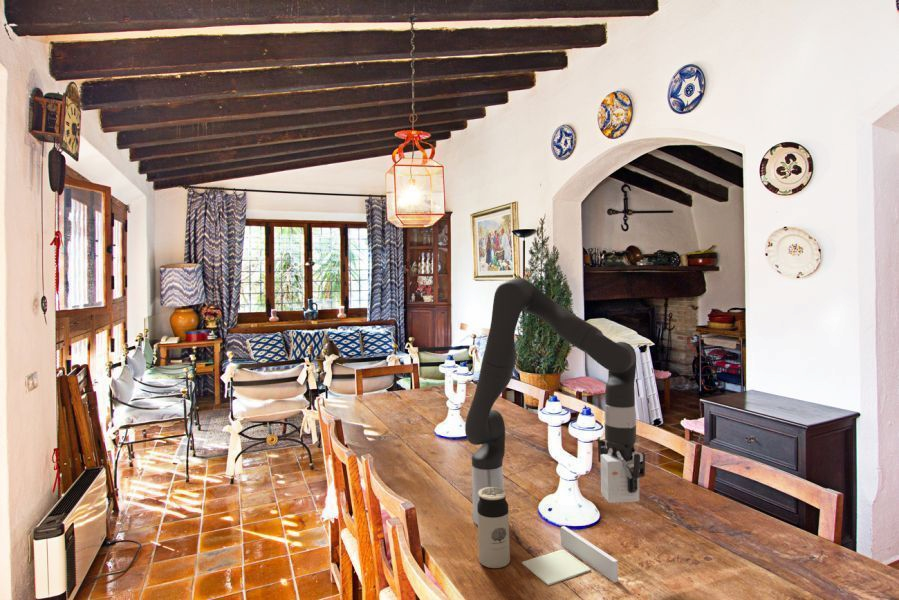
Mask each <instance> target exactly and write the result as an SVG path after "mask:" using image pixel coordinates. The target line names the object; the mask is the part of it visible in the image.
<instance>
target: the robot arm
mask: <svg viewBox="0 0 899 600" xmlns="http://www.w3.org/2000/svg"><path fill="white" fill-rule="evenodd" d="M492 303H493V304H492V310H491V311H492V312H491V321H490V327H489V331H488V336H487V340H486V344H485V348H484V351H483V352H484V353H483V355H482V360H481V364H480V370H479V375H478V379H477V383H476V389H475V391H474V394H473V399H472V401H471V404H470V407H469V410H468V413H467V416H466V419H465V424H464V431H465V436H466V439H467V441H468V442H469V443H470V444H471V445H475V446H476V445H477V446H478V445H481V446H480V447H479V449H477V450H476V451H475V452H474V453H473V454H472V456H471V474H472V477H471V478H472V486H471V495H472V496H471V499H472V500H471V501H472V503H471V504H472V518H473V523H474V524H475V525H476V526H478V511H477V504H478V502H479V500H480V498H479V495H478V491H479V490H481V489H483V488H486V487H499V488H502V489H504V469H503V468H504V467H503V464H504V463H503V461H504V457H505V452H506V451H505V450H506V425H505V420H504V418H503V415H502V414H501V413H500V412H499V411H498V410H496V409H492V408H493V406H494V404H495V403H496V401H497V400H498V399H499V397H500V396H501V394H502V393H503V392H504V391H505V389H506V388H507V387H508V385H509V383H511V382H510V381H511V380H512V378H513V373H514V369H515V364H516V360H517V352H516V351H517V349H516V343H515V335H516V334H515V333H516V328H517V325H518V321H519V319H520V316H521V313H522V312H524V311H525V312H528V313H531V314H532V315H534V316H536V317H538V318H540V319H541V320H543V321H544V322H545V323H547V325H549V327H550V328H551V329H552V330H553V331H554V332H555V334H557V336H559V337H560V338H561V339H562V340H564V341H566V342H567V343H568V344H570V345H572V346H574V348H577V349H579V350H580V351H582V352H583V353H585V354H587V355H588V356H589V357H590V358H591V359H592V360H593V361H595V362H596V363H597V364H599V365H600V366H602V367H603V368H604V369H606V370H607V371H608V376H607V377H608V378H607V382H606V385H605V388H604V389H605V392H604V393H605V394H604V395H605V397H604V399H605V406H604V438H603V439H598V440H597V453H598V454H597V455H598V458H597V459H598V462H599V463H600V464H601V454H607V455H609V456H614V457H617V458H619V459H620V461H622V466H623V468H624V469H625V470H626V472H627V474H628V477H629V478H628V492H629V493H634V492H636V491H637V489H638V487H637V479H638V478H639V479H640V478H644V477H645V475H646V474H645V473H646V454H645V453H644V452H639V451H636V449H635V443H636V442H637V413H636V412H637V411H636V400H635V399H636V398H635V397H636V395H635V393H636V392H635V379H636V373H637V372H636V370H637V353H636V350H635V349H634V347H633V346H632V344H630V343H628V342H626V341H625V342H624V341H618V342H616V341H613V340H612V339H611V338H609V337H607V336H605V334H604V333H603V332H602V330H600V329H599V328H598V327H596V326H594V325H593V324H591V323H589V322H587V321H586V320H585V319H583V318H582V317H579V316H577V315H576V314H574V313H572V312H571V311H569V310H568V309H566V308H564V307H563V306H561V305H560V304H559V303H557V302H556V301H555V300H553V299H552V298H551V297H549V296H548V295H547V294H545V292H543V291H542V290H541V289H539V288H538V287H537V286H536V285H535V284H533V283H532V282H530V281H529V280H527V279H526V278H523V277H516V278H512V279H510V280H506V281H504V282H502V283H500V284H499V286H497V288H496V290H495V292H494V296H493V302H492ZM631 459H632V460H633V461H634V463H633V464H630V465H628V464H627V463H626V462H627V461H630V460H631ZM630 468H633V473H632V472H631V469H630Z"/></svg>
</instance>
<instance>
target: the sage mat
mask: <svg viewBox="0 0 899 600" xmlns="http://www.w3.org/2000/svg"><path fill="white" fill-rule="evenodd" d="M521 564H522V565H523V566H524V567H526V568H527V570H529V571H530V572H531V573H532V574H534V575H535V576H536V577H537V578H538V579H540V580H541V581H542V582H543V583H544V584H546V585H547V586H551V585H554V584H556V583H560V582H562V581H565V580H568V579H572V578H575V577H576V576H577V577H578V576H580V575H584V574H586V573H589V572H591V571H592V569H591V568H590V567H589V566H587V565H585V564H584V563H583V562H582V561H580V560H579V559H577V558H576V557H575V556H573V554H570V553H569V552H567V550H565V549H564V548H563V549H559V550H556V551H553V552H550V553H546V554H542V555H539V556H537V557H534V558H530V559H528V560H527V559H526V560H524V561H522V562H521Z"/></svg>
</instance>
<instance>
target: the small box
mask: <svg viewBox="0 0 899 600" xmlns="http://www.w3.org/2000/svg"><path fill="white" fill-rule="evenodd" d="M626 463H627V464H628V465H630V464H633V463H634V461H633V460H632V459H631V460H630V461H627V462H626ZM630 469H631V472H632V473H633V468H630ZM628 478H629V477H628V474H627V472H626V470H625V469H624V468H623V466H622V461H620V459H619V458H617V457H614V456H609V455H607V454H601V463H600V488H601V489H600V491H601V495H602V496H603V498H604V499H605V500H606V501H607V502H608V503H609V504H610V503H611V504H613V503H615V504H616V503H630V502H632V503H633V502H639V501H640V478H638V479H637V487H638V489H637V491H636V492H634V493H629V492H628Z"/></svg>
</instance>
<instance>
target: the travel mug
mask: <svg viewBox="0 0 899 600" xmlns="http://www.w3.org/2000/svg"><path fill="white" fill-rule="evenodd" d="M478 495H479V498H480V500H479V502H478V504H477V511H478V525H477V534H478V535H477V540H478V542H477V544H478V561H479V563H480V565H482V566H484V567H486V568H489V569H500V568H504V567H506V566H507V565H508V564H510V562H511V561H510V560H511V556H510V554H511V553H510V521H509V519H510V517H509V516H510V515H509V512H510V511H509V502H508V501H507V495H508V491H507V490H505V489H504V488H503V489H502V488H499V487H486V488H483V489H481V490H479V491H478Z"/></svg>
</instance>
